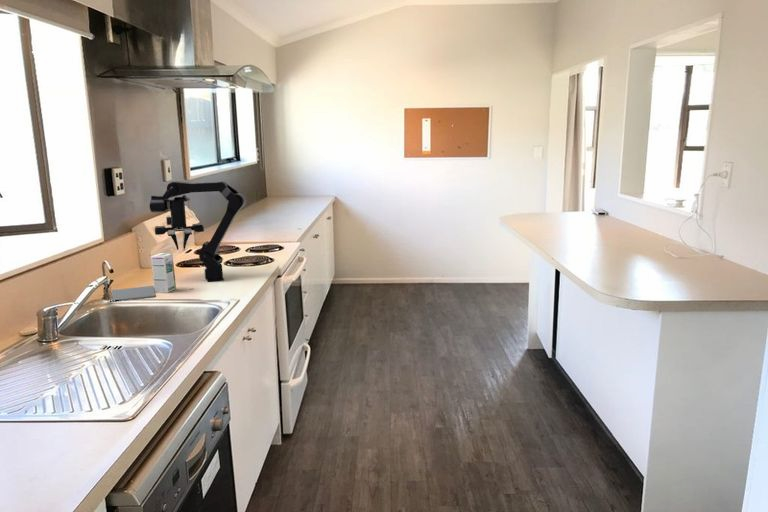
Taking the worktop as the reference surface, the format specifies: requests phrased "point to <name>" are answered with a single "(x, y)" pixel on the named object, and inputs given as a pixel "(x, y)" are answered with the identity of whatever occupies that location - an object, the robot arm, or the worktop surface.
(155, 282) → the syrup box
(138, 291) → the mat
